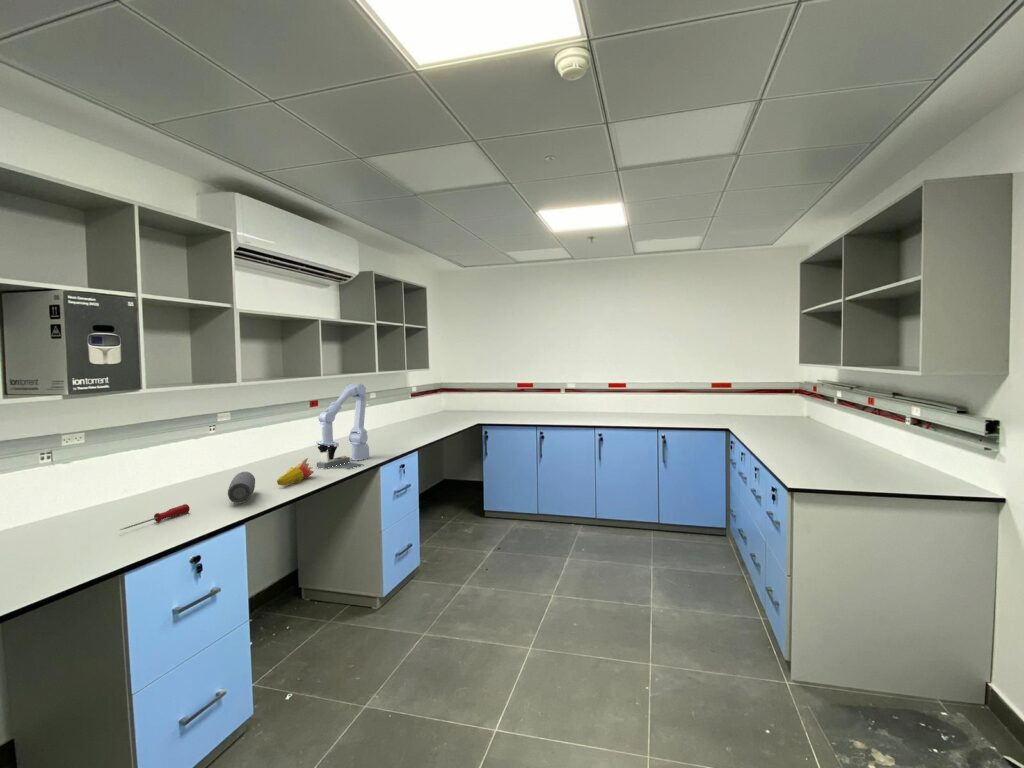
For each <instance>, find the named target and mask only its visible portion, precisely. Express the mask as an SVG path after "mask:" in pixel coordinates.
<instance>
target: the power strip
mask: <svg viewBox="0 0 1024 768" xmlns="http://www.w3.org/2000/svg"><path fill="white" fill-rule="evenodd" d="M350 458H351V457H350V456H346V455H342V456H337V457H334V460H335V461H331V462H321V461H317V462H316V468H317V467H318V468H317V469H321V468H327V469H329V468H328V467H331V468H333V467H332V466H336V465H340V464H344V463H348V462H350V463H351V460H350Z"/></svg>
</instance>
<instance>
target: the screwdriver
mask: <svg viewBox="0 0 1024 768" xmlns="http://www.w3.org/2000/svg"><path fill="white" fill-rule="evenodd" d="M190 509H191V508H190V506H189V505H188V504H186V503H184V504H182V505H178V506H176V507H172V508H169V509H168V510H165V511H164V512H160V513H159V512H156V513H155V514H154V516H153V518H150V519H147V520H143V521H141V522H138V523H134V524H132V525H129V526H126V527H123V528H121V529H119V531H122V530H126V529H130V528H132V527H135V526H140V525H142V524H145V523H147V522H151V521H155V522H156V523H160V522H161V521H162V520H165V519H168V518H175V517H178V516H181V515H183V514H188V513H189V512H190Z"/></svg>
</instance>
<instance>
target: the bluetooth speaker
mask: <svg viewBox="0 0 1024 768" xmlns="http://www.w3.org/2000/svg"><path fill="white" fill-rule="evenodd" d="M255 487H256V479H255V475H253V474H252V473H251V472H249V471H241V472H238V473H237V474H236V475H235V476H234V477H233V478H232V479H231V481H230V484H229V486H228V489H227V496H228V500H230V502H232V503H233V504H242V503H243V504H244V503H245V502H247V501H248V500H249V499H251V497H252V494H253V493H254V491H255Z"/></svg>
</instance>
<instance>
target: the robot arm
mask: <svg viewBox="0 0 1024 768" xmlns="http://www.w3.org/2000/svg"><path fill="white" fill-rule="evenodd" d="M366 388H367V387H366V386H365V385H364V384H362V383H352V382H351V383H350V382H349V383H348V384H347V385H346V386H345V387H344V390H343V392H342V393H341V394H340V395H339V397H338V398H337V400H336V401H332V402H330V405H329V406H328V407H327V408H325V410H324V411H322V412H320V413H319V416H318V421H319V424H320V426H321V427H320V428H321V429H320V431H321V440H317V441H315V442H316V444H315V445H316V446H317V448H318V450H319V453H321V452H326V451H328V453H329V460H331V459H333V457H334V458H335V453H336V451H337V449H338V447H340V446H339V444H340V443H339V442H336V441H334V435H333V434H334V433H333V432H334V431H333V429H334V428H333V422H334V421H335V419H336V415H337V414H338V413H339V411H341V410H342V405H343V404H344V403H345V402H346V401H347V400H348V399H349V398H350V397H352V398H354V399H355V409H354V411H355V412H354V421H353V422H354V423H353V427H352V428H351V429H350V433H349V435H348V441H349V442H350V445H351V454H352V455H351V457H352V458H351V457H350V461H357V460H360V461H364V460H368V459H371V457H370V446H369V444H368V443H367V442H368V439H369V437H368V431H367V429H365V415H366V404H367V395H366V392H367V391H366V390H367V389H366ZM367 458H368V459H367ZM363 459H364V460H363Z"/></svg>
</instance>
